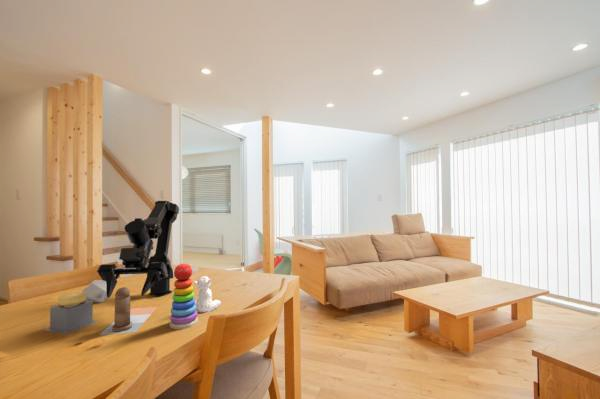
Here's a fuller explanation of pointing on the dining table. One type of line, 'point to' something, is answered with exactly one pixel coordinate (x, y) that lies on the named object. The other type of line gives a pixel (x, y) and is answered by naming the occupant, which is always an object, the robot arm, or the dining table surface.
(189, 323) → the stacking toy
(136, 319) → the game board
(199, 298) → the seated beast figurine
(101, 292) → the die
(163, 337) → the dining table surface
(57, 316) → the box
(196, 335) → the dining table surface
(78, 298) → the dome button
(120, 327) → the brown round-topped post
